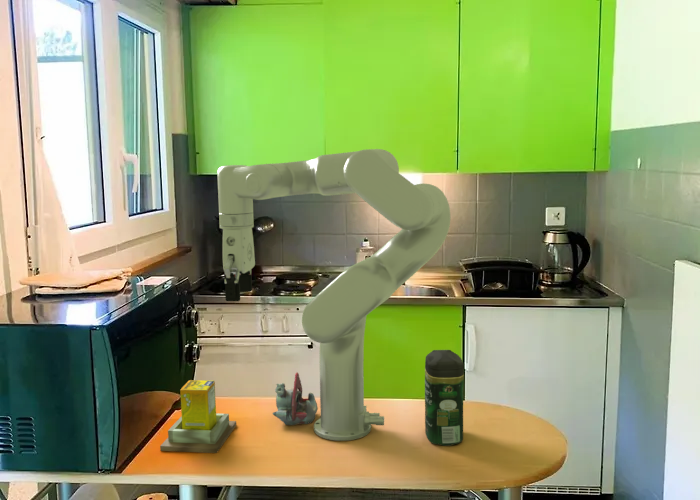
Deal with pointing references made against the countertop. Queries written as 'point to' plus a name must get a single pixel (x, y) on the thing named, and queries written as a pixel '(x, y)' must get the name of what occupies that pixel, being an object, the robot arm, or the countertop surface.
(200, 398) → the supplement box
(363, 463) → the countertop surface
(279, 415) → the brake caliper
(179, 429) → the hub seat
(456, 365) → the coffee jar
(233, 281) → the robot arm
